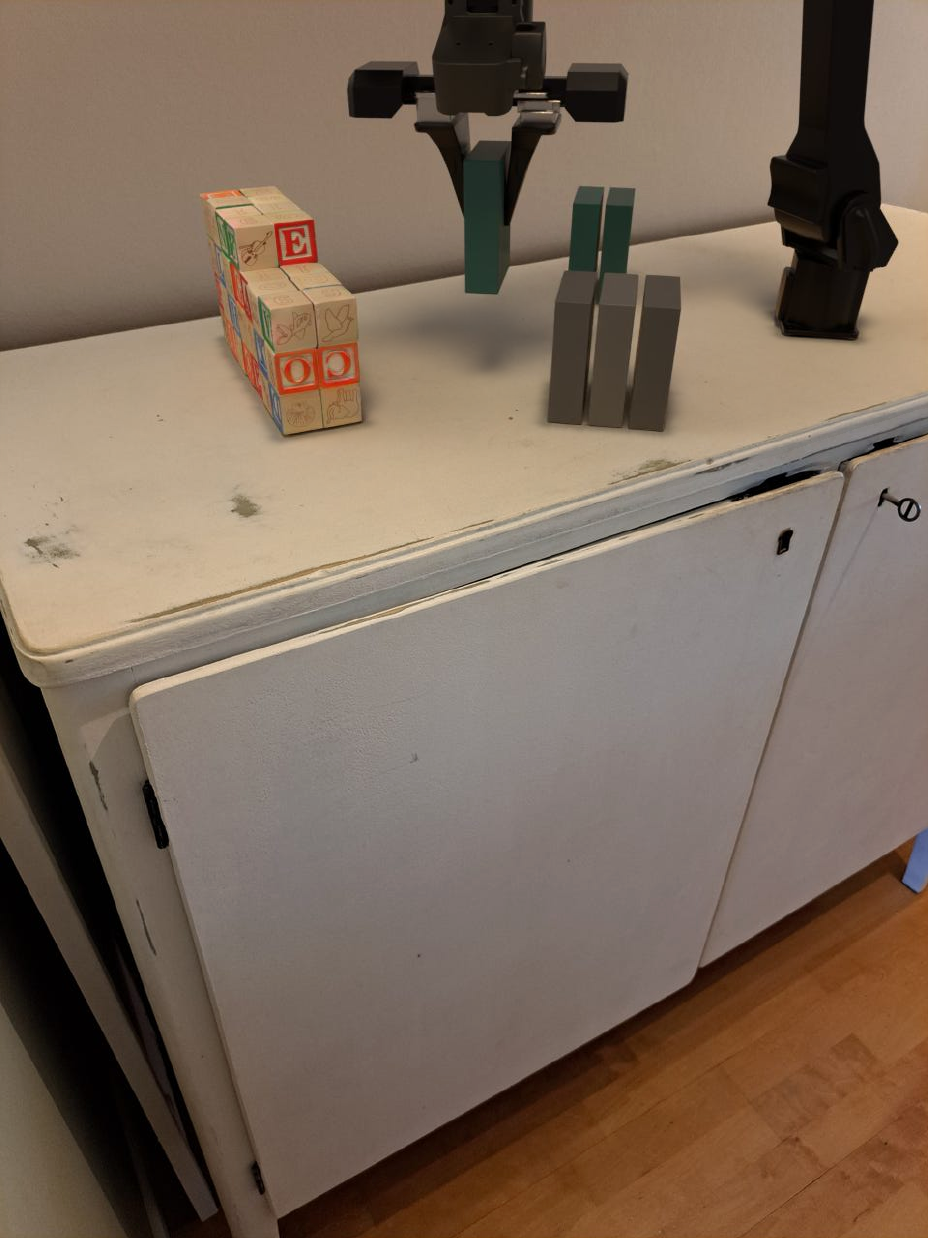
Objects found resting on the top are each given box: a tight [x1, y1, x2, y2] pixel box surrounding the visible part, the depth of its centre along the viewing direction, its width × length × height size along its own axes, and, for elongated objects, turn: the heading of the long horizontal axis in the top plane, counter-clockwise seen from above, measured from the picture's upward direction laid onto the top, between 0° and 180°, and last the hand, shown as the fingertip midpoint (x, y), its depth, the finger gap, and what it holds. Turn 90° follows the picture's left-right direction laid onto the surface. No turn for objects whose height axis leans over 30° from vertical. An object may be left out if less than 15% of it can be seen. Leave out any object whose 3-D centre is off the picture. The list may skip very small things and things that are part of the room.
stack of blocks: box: [199, 185, 363, 436], centre depth 70 cm, size 21×6×12 cm, turn 23°
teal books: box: [567, 185, 636, 305], centre depth 88 cm, size 6×7×9 cm
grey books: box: [547, 269, 682, 432], centre depth 67 cm, size 8×7×9 cm
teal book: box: [463, 140, 511, 296], centre depth 67 cm, size 2×7×9 cm, turn 170°
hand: (488, 223), depth 67 cm, fingers closed on teal book, 2 cm apart
